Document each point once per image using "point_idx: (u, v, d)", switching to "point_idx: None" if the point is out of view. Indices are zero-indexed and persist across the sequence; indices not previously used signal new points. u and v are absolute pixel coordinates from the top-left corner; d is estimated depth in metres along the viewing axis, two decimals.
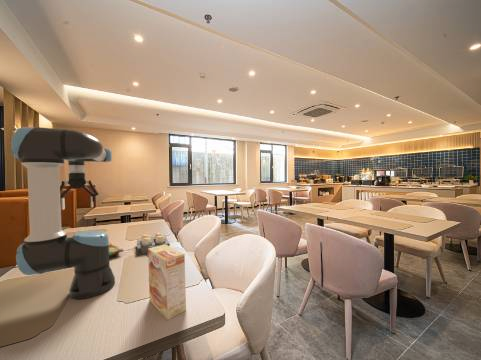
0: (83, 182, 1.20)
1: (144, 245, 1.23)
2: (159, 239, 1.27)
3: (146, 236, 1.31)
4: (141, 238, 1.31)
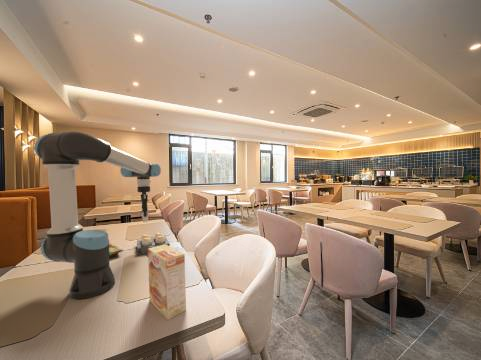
0: (142, 195, 1.29)
1: (144, 245, 1.23)
2: (159, 239, 1.27)
3: (146, 236, 1.31)
4: (141, 238, 1.31)
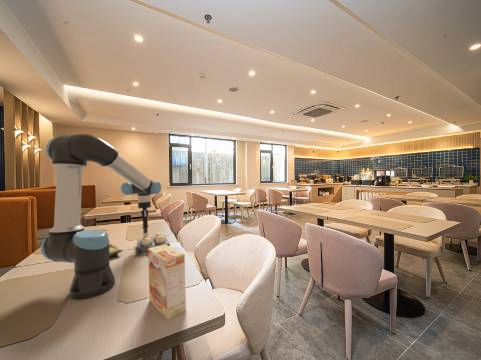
0: (143, 211, 1.29)
1: (144, 245, 1.23)
2: (159, 239, 1.27)
3: None
4: (141, 240, 1.31)
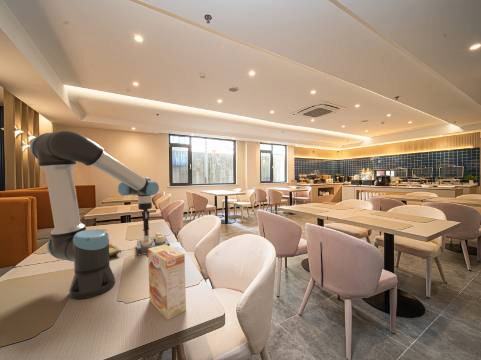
0: (143, 213, 1.22)
1: None
2: (159, 239, 1.27)
3: None
4: (141, 242, 1.31)
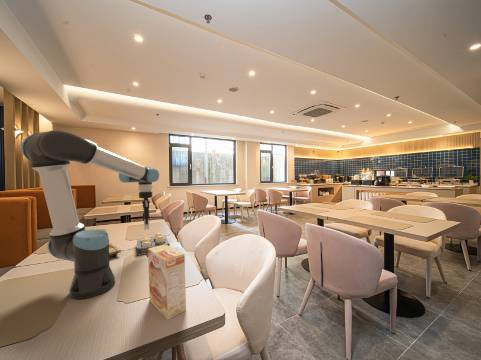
0: (144, 201, 1.22)
1: None
2: (159, 239, 1.27)
3: (146, 240, 1.31)
4: (141, 242, 1.31)
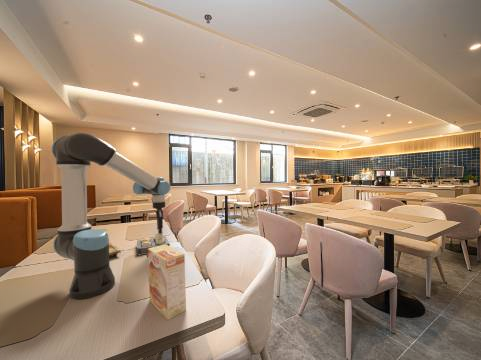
0: (157, 211, 1.26)
1: None
2: (159, 241, 1.27)
3: (146, 240, 1.31)
4: (141, 242, 1.31)
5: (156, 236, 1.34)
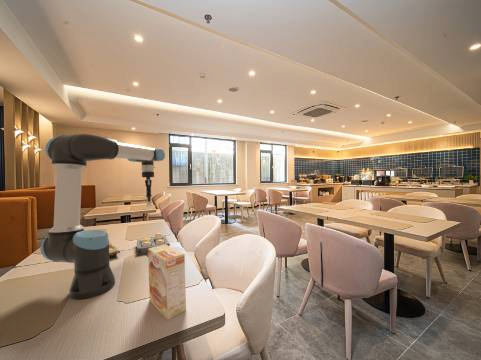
0: (146, 180, 1.33)
1: None
2: (159, 243, 1.27)
3: (146, 240, 1.31)
4: (141, 242, 1.31)
5: (156, 236, 1.34)
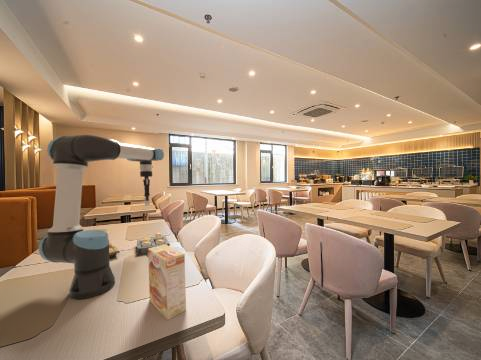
0: (144, 179, 1.35)
1: None
2: (159, 243, 1.27)
3: (146, 240, 1.31)
4: (141, 242, 1.31)
5: (156, 236, 1.34)
